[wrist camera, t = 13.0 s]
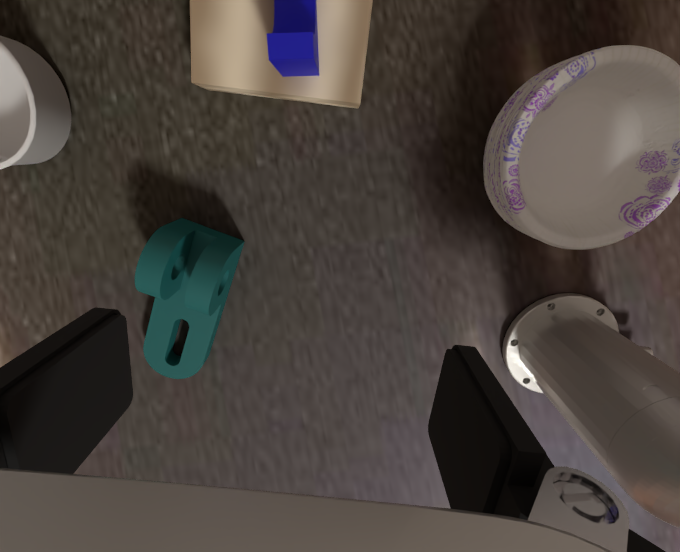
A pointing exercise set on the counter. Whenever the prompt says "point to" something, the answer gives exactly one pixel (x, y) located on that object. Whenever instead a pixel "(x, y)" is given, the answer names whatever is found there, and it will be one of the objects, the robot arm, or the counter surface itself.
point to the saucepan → (30, 107)
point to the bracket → (185, 292)
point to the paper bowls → (588, 148)
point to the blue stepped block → (294, 38)
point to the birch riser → (252, 51)
